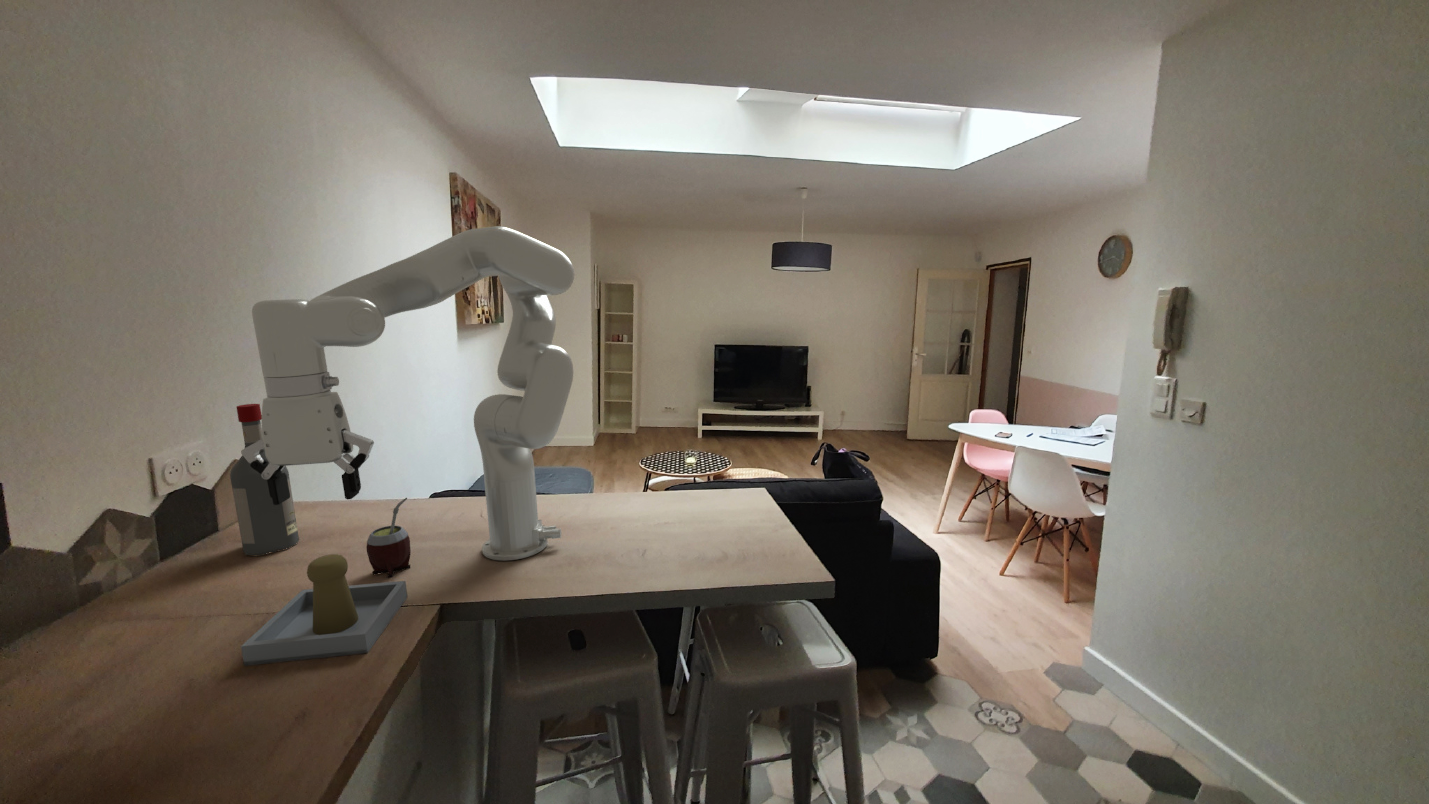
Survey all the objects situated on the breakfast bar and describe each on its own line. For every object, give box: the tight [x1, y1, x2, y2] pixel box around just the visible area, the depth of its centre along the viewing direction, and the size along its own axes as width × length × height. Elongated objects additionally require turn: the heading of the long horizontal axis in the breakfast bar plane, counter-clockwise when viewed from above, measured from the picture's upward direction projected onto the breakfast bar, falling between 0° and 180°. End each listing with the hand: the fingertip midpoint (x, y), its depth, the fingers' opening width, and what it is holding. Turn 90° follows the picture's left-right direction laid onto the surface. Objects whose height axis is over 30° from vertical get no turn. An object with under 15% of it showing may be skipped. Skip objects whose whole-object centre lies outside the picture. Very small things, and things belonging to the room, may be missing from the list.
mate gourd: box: [366, 497, 412, 579], centre depth 107 cm, size 8×8×15 cm
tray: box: [240, 580, 408, 667], centre depth 89 cm, size 16×16×3 cm
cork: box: [306, 553, 358, 635], centre depth 89 cm, size 6×6×11 cm
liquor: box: [229, 403, 300, 556], centre depth 118 cm, size 9×9×30 cm
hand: (317, 499), depth 86 cm, fingers open, 9 cm apart
